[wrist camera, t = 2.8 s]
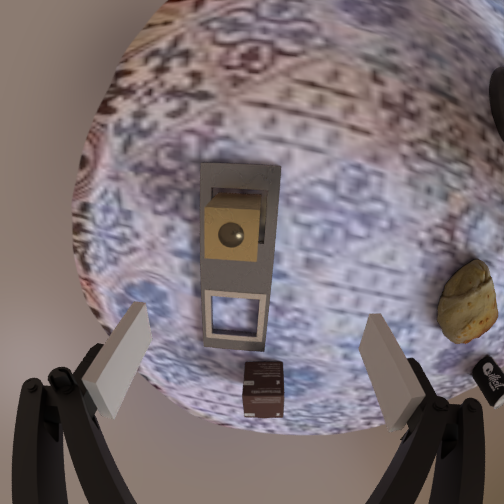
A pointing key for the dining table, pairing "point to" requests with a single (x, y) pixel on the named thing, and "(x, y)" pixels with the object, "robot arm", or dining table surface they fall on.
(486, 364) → the beverage can
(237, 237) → the gold block with hole
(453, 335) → the pastry
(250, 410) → the box
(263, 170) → the grey board with holes
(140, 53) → the dining table surface
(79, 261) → the dining table surface
